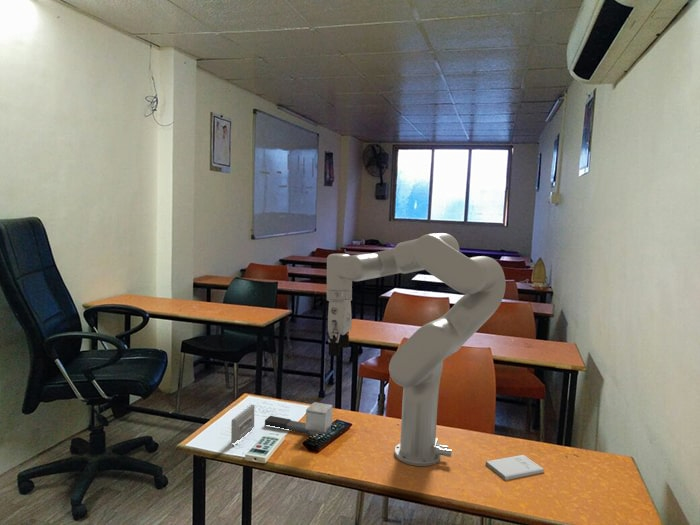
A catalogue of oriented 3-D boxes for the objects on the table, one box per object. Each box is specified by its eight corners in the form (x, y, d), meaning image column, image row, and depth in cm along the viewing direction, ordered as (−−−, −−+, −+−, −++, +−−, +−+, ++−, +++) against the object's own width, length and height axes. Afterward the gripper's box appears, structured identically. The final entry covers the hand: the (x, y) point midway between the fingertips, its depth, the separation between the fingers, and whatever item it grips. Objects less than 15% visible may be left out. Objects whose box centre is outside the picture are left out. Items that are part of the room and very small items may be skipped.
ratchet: (262, 428, 149) (262, 410, 149) (272, 419, 156) (273, 402, 155) (325, 441, 143) (325, 422, 142) (333, 431, 149) (334, 413, 149)
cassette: (250, 428, 149) (250, 403, 149) (255, 429, 149) (256, 404, 148) (229, 446, 138) (229, 419, 137) (235, 447, 137) (235, 420, 137)
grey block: (331, 424, 149) (332, 405, 148) (324, 432, 143) (325, 412, 143) (313, 421, 151) (313, 402, 150) (305, 429, 145) (306, 409, 144)
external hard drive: (485, 466, 133) (522, 459, 137) (505, 482, 125) (543, 474, 130) (485, 460, 133) (522, 453, 137) (505, 476, 125) (544, 468, 130)
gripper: (343, 300, 138) (342, 360, 140) (358, 291, 155) (358, 345, 156) (317, 299, 140) (317, 358, 142) (335, 290, 157) (335, 343, 158)
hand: (339, 351), depth 149 cm, fingers open, 9 cm apart
